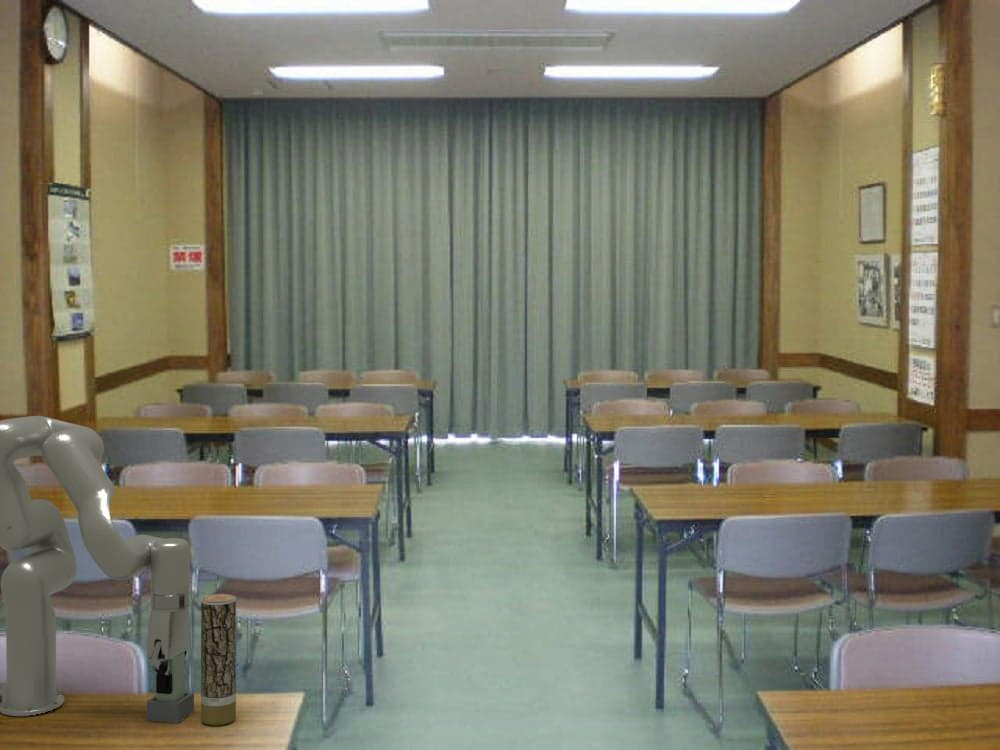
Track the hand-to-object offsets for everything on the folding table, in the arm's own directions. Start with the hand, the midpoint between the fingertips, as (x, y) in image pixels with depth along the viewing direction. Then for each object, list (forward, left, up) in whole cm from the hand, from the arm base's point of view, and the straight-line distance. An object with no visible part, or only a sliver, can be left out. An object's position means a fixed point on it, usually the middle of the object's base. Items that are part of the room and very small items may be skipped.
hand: (170, 688), depth 225 cm
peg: (0, 0, -5) cm, 5 cm away
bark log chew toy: (+11, 0, -6) cm, 12 cm away
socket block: (0, 0, -6) cm, 6 cm away
